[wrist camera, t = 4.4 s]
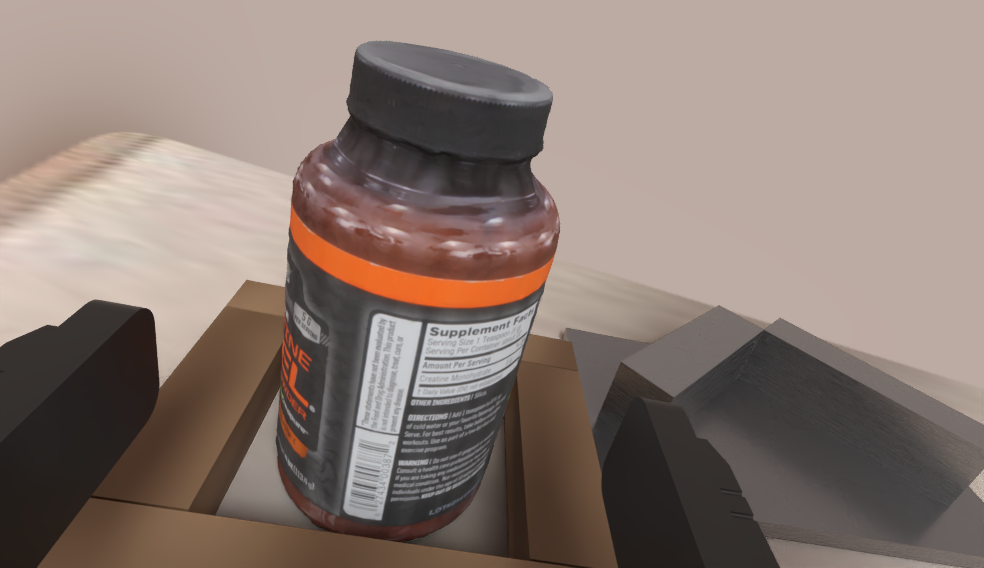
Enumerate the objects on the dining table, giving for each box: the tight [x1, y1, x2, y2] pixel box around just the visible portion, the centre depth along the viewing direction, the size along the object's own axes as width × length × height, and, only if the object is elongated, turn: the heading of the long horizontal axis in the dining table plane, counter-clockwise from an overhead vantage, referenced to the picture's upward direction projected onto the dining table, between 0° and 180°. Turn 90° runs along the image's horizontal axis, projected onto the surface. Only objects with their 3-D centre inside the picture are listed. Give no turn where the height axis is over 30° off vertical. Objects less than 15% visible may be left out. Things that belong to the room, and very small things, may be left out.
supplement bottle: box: [276, 41, 560, 542], centre depth 14 cm, size 6×6×11 cm
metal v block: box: [562, 305, 984, 568], centre depth 21 cm, size 15×9×3 cm, turn 90°
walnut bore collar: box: [37, 280, 618, 568], centre depth 16 cm, size 12×11×2 cm
